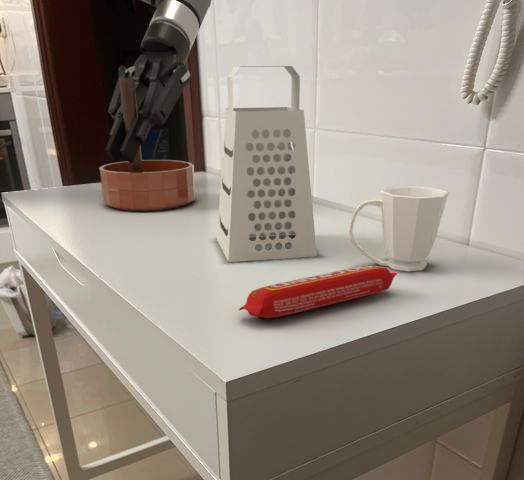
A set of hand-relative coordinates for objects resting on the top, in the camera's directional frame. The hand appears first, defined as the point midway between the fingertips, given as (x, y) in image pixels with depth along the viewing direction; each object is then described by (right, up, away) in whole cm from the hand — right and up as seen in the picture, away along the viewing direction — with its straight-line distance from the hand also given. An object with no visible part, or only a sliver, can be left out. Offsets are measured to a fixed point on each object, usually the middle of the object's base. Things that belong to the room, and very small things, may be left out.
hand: (119, 156), depth 87 cm
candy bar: (+28, -26, -35) cm, 52 cm away
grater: (+22, -18, -17) cm, 33 cm away
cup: (+37, -21, -24) cm, 49 cm away
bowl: (+3, -5, +8) cm, 10 cm away
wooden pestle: (+2, -4, +6) cm, 7 cm away
